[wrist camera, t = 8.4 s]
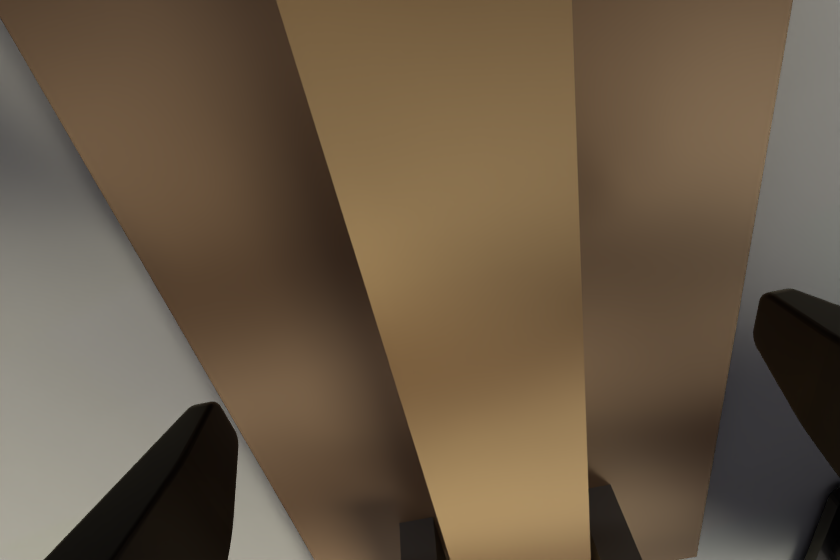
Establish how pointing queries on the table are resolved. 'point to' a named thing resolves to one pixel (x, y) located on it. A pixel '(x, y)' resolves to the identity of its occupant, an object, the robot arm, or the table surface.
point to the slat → (466, 246)
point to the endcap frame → (340, 274)
